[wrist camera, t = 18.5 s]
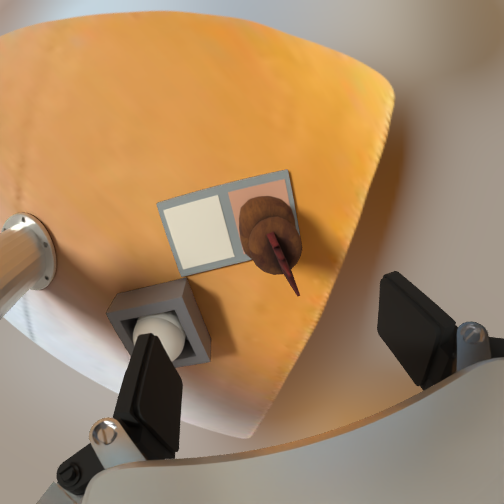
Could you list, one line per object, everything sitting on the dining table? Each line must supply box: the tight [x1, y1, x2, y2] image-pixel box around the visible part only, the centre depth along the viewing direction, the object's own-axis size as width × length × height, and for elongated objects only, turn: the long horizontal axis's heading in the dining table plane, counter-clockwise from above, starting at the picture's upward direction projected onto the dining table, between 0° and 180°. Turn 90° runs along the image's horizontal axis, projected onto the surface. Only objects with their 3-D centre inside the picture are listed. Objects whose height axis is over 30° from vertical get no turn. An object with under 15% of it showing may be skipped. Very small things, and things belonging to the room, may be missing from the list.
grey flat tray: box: [157, 169, 300, 277], centre depth 33 cm, size 16×10×1 cm, turn 103°
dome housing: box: [106, 277, 211, 368], centre depth 35 cm, size 11×11×5 cm
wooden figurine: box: [239, 196, 302, 296], centre depth 26 cm, size 7×6×15 cm
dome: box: [133, 310, 186, 361], centre depth 33 cm, size 7×7×7 cm
